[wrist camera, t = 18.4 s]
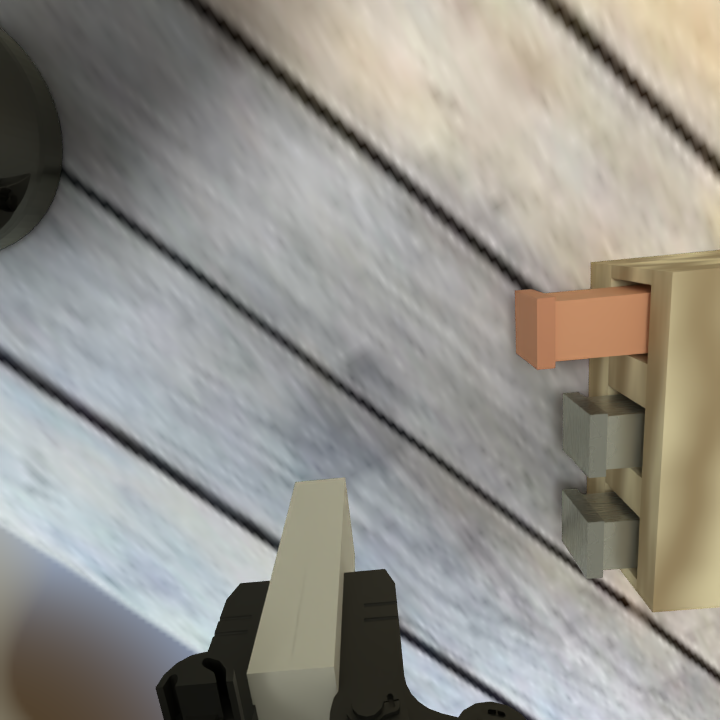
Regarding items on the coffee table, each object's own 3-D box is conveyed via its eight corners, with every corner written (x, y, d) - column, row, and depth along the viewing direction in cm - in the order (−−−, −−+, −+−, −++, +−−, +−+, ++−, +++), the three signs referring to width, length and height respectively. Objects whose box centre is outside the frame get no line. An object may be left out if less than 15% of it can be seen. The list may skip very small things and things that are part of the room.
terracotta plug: (516, 353, 32) (537, 369, 28) (514, 290, 31) (536, 298, 27) (787, 328, 31) (848, 341, 27) (794, 264, 30) (858, 268, 26)
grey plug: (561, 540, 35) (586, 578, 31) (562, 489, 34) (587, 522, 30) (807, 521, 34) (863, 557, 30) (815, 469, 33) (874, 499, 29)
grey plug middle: (562, 449, 33) (588, 478, 29) (562, 393, 32) (590, 414, 28) (821, 427, 33) (882, 453, 29) (829, 369, 32) (894, 388, 28)
